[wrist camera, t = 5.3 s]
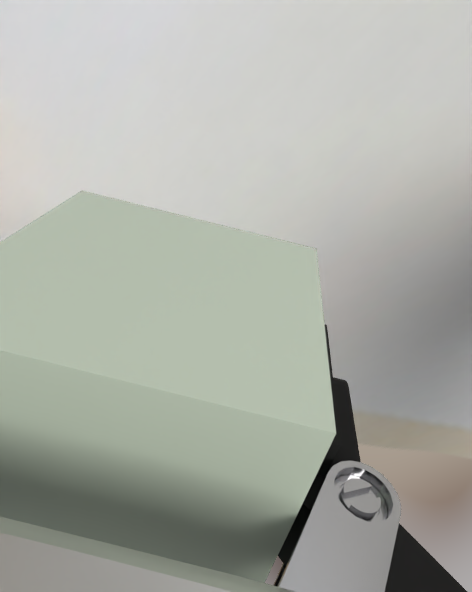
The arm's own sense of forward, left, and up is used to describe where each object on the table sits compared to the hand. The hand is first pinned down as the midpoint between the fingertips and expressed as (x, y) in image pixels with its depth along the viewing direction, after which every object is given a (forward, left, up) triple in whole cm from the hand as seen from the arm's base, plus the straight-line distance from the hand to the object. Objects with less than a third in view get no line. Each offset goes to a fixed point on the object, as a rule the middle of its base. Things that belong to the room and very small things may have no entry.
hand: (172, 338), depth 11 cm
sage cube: (0, 0, -1) cm, 1 cm away
